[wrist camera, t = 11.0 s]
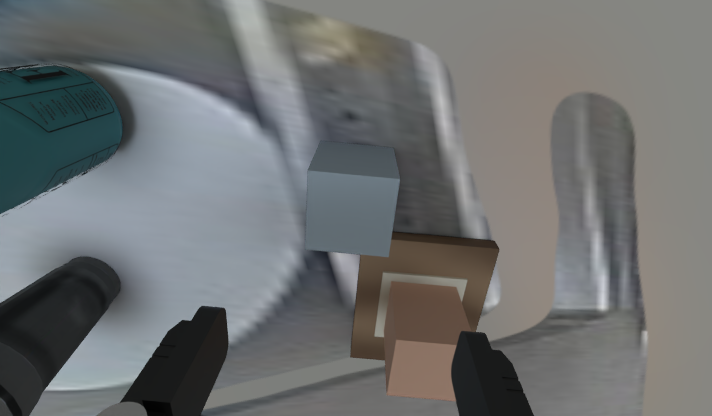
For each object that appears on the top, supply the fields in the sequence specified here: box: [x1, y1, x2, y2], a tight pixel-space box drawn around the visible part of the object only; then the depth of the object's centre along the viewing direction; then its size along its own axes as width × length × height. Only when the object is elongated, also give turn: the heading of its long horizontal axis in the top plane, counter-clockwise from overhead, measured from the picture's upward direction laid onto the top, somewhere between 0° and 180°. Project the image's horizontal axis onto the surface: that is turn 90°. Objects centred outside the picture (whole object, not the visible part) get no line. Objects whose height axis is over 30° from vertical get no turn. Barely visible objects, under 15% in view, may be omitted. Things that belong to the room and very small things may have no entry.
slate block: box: [305, 141, 400, 257], centre depth 24 cm, size 5×5×6 cm
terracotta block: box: [384, 281, 471, 401], centre depth 27 cm, size 5×5×6 cm
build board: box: [350, 232, 499, 360], centre depth 30 cm, size 12×10×1 cm
